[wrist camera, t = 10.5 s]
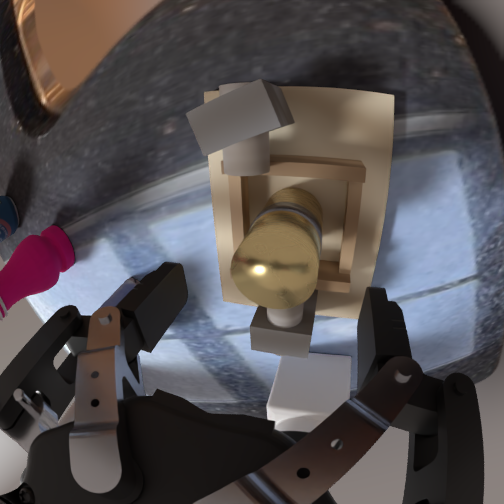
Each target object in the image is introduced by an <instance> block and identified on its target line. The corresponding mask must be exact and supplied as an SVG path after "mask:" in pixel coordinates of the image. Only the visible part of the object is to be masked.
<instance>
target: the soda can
mask: <svg viewBox="0 0 504 504" xmlns="http://www.w3.org/2000/svg"><path fill="white" fill-rule="evenodd" d="M18 225H19V216H18V212H17V208H16V206H15V204H14V202H13V200H12V199H11V198H10V197H8V196H0V242H2V241H3V240H5V239H6V238H8V237H9V236H11V235H12V234H14V233H15V231H16V229H17V227H18Z"/></svg>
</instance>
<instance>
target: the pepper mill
mask: <svg viewBox="0 0 504 504" xmlns="http://www.w3.org/2000/svg"><path fill="white" fill-rule="evenodd" d="M74 261H75V255H74V250H73V247H72V244H71V242H70V240H69V238H68V237H67V235H66V234H65V233H64V231H63V230H62V229H60V228H59V227H58V226H54V225H52V226H50V227H48V228H47V229H45V230H44V231H42V233H41V235H40V236H38V235H30V236H28V237H26V238H25V239H24V240H23V241H22V242H21V243H20V244H19V245H18V246H17V248H16V249H15V251H14V253H13V254H12V256H11V258H10V259H9V261H8V262H7V264H6V265H5V267H4V268H3V269H2V270H1V271H0V321H2V320H3V318H4V317H5V316H7V315H8V312H7V311H8V310H9V309H10V308H11V306H12V305H13V304H15V303H16V302H17V301H19V300H20V299H22V298H24V297H27V296H30V295H33V294H37V293H41V292H44V291H46V290H49V289H50V288H51V287H53V286H54V285H55V284H56V283H57V281H58V279H59V275H60V272H65V271H66V270H68V269H69V268H70V267H71V266H73V264H74Z"/></svg>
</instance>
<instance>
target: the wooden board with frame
mask: <svg viewBox="0 0 504 504" xmlns="http://www.w3.org/2000/svg"><path fill="white" fill-rule="evenodd" d="M204 101H205V104H203V105H201V106H199V107H197V108H195V109H193V110H191V111H190V112H188V113H186V115H187V118H188V120H189V122H190V125H191V127H192V129H193V132H194V134H195V136H196V139H197V141H198V143H199V146H200V148H201V150H202V153H203V155H204V156H207V155H208V160H209V172H210V183H211V195H212V205H213V215H214V225H215V235H216V244H217V253H218V262H219V270H220V278H221V287H222V294H223V301H225V302H231V303H237V304H243V305H250V306H256V307H258V308H257V310H256V313H255V315H254V317H253V320H252V322H251V325H250V336H251V350H256V351H262V352H267V353H273V354H276V355H279V356H292V357H299V358H307V359H308V354H309V348H310V342H311V336H312V330H313V323H314V317H315V315H323V316H332V317H341V318H351V319H358V318H359V314H360V310H361V307H362V303H363V299H364V295H365V291H366V288H367V287H370V286H371V282H372V278H373V274H374V269H375V265H376V260H377V256H378V251H379V246H380V240H381V235H382V229H383V223H384V217H385V211H386V204H387V197H388V189H389V180H390V171H391V160H392V147H393V128H394V95H389V94H383V93H376V92H369V91H361V90H352V89H341V88H326V87H297V86H283V87H278V86H275V85H273V84H271V83H269V82H267V81H265V80H263V79H259V80H256V81H254V82H246V83H232V84H225V85H221V86H219V90H218V91H209V92H204ZM284 188H300V189H303V190H305V191H308V192H309V193H311V194H312V195H313V196H314V197H315V198H316V199H317V200H318V201H319V203H320V205H321V207H322V211H323V227H322V235H323V237H322V248H321V254H320V259H319V268H318V277H317V284H316V288H315V290H314V292H313V293H312V295H311V296H310V297H309V298H308V299H307V300H306V301H305V302H303V303H302V304H300V305H298V306H296V307H292V308H288V309H271V308H266V307H263V306H260V305H258V304H256V303H254V302H252V301H251V300H249V299H248V298H246V297H245V296H244V295H243V294H242V293H241V292H240V291H239V289H238V288H237V287H236V285H235V283H234V281H233V278H232V275H231V261H232V258H233V255H234V253H235V252H236V250H237V248H238V247H239V245H240V244H241V242H242V240H243V239H244V237H245V236H246V234H247V233H248V231H249V228H250V226H251V225H252V223H253V221H254V220H255V218H256V217H257V215H258V214H259V213H260V212H261V211H262V209H263V208H264V206H265V204H266V203H267V201H268V200H269V198H270V197H271V196H272V195H273V194H274V193H276V192H277V191H279V190H281V189H284Z"/></svg>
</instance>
